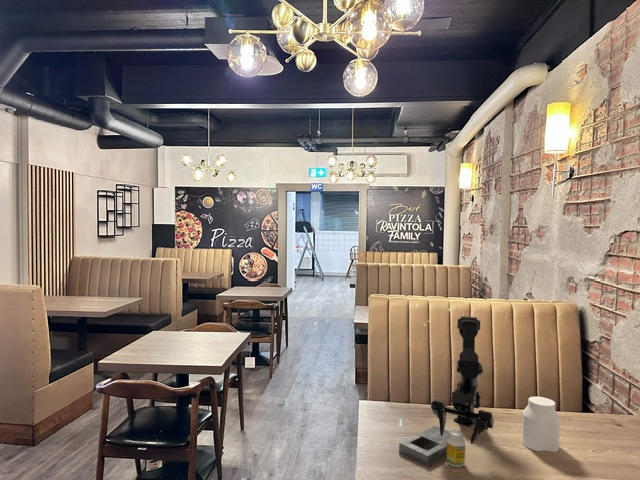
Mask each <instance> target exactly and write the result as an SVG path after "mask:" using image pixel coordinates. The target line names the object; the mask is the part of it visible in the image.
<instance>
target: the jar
mask: <svg viewBox="0 0 640 480" xmlns="http://www.w3.org/2000/svg"><path fill="white" fill-rule="evenodd" d="M521 416H522V422H521V423H522V424H521V425H522V427H521V441H520V442H521V443H522V445H523V446H525V447H526V448H527V449H530V450H532V451H535V452H552V453H557V452H558V451H559V450H560V430H561V427H560V426H561V417H560V416H559V414H558V412H557V411H556V402H555V401H554V400H552V399H550V398H546V397H543V396H530V397H529V398H528V403H527V406H526V407H525V408H524V409H523V411H522V415H521Z"/></svg>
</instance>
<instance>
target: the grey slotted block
mask: <svg viewBox="0 0 640 480" xmlns="http://www.w3.org/2000/svg"><path fill="white" fill-rule="evenodd" d="M450 431H451V430H450ZM450 431H449V430H448V429H445V428H444V433H443V436H441V435H440V426H437V425H433V426H431V427H429V428H426V429H425V430H423V431H421V432H419V433H417V434H414V435H412V436H411V437H408V438H406V439H405V440H402V441H400V442H399V444H398V453H400V454H403V455H405V456H407V457H409V458H411V459H413V460H415V461H417V462H419V463H421V464H424V465H426V466H430V465H432V464H433V463H435V462H437V461H439V460H440V459H442V458H445V456H446V457H447V439H448V438H449V437H450V436H449V435H450ZM421 446H423V447H424V448H427V449H428V450H426V449H424V448H422V447H421Z"/></svg>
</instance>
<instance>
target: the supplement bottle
mask: <svg viewBox="0 0 640 480" xmlns="http://www.w3.org/2000/svg"><path fill="white" fill-rule="evenodd" d="M449 436H450V437H449V438H448V439H447V455H446V462H447V464H448V465H450V466H451V467H455V468H461V467H463V466H464V465H465V459H466V458H465V457H466V455H465V454H466V442H465V441H466V440H465V439H464V432H463V431H461V430H458V429H451V430H450V435H449Z"/></svg>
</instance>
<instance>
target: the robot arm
mask: <svg viewBox="0 0 640 480" xmlns="http://www.w3.org/2000/svg"><path fill="white" fill-rule="evenodd" d="M456 326H457V328H456V329H458V334H459V336H460V337H461V339H462V351H461V352H460V353H459V360H458V359H457V361H456V373H458V374H459V381H458V382H457V385H456V388H455V389H454V391H451V396H450V397H451V399H450V403H451V405H452V406H453V407H451V406H447V405H446V402H445V401H442V400H437V399H434V400H432V401H431V404H430V408H431V411H432V413H433V415H435V416H436V417H437V418H438V421H439V427H440V435H441V436H443V433H444V429H445V428H446V427H445V426H446V423H447V417H446V416H447V414H450V415H455V416H457V417H454V418H453V421H454V422H457V423H459V424H462V425H464V426H468V427H470V426H472V425H474V427H473V432H472V434H471V438H470V444H471V445H473V444H474V443H475V442H476V440H477V439H478V437H479V436H480V435H481V434H482V433H483V432H485V430H486V431H487V430H489V429H494V426H495V422H494V421H495V419H494V416H493V413H492V412H491V411H486V410H482V409H479V408H480V407H481V395H480V393H479V391H478V387H479V386H478V385H479V375H480V376H481V375H482V374H483V373H484V368H483V366H482V363H481V362H479V361H480V360H479V355H478V354H477V352H476V337H478V334H479V331H481V320H479V319H478V318H477V317H475V316H463V315H461V316H460V318H457V325H456ZM475 409H476V410H477V409H479V410H478V412H475Z"/></svg>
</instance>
